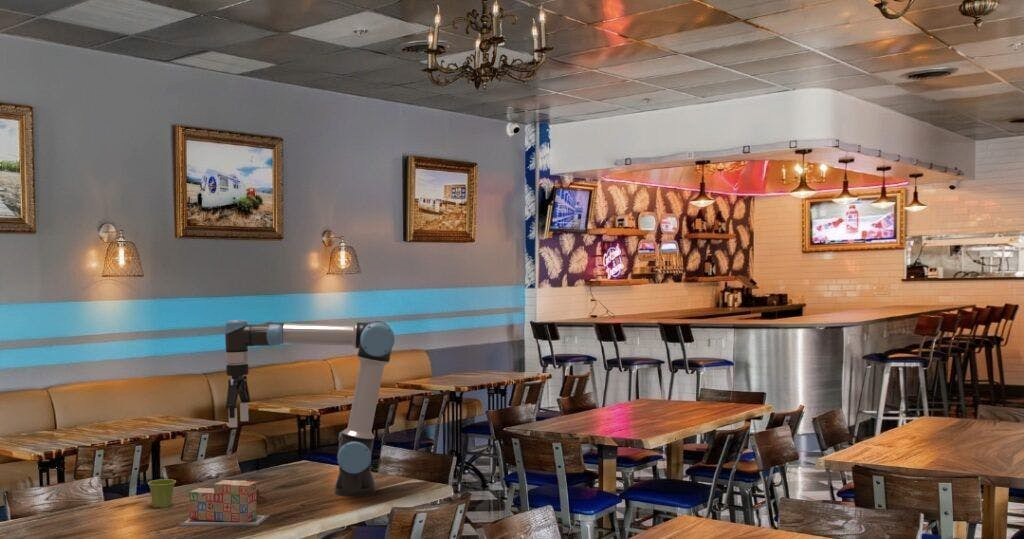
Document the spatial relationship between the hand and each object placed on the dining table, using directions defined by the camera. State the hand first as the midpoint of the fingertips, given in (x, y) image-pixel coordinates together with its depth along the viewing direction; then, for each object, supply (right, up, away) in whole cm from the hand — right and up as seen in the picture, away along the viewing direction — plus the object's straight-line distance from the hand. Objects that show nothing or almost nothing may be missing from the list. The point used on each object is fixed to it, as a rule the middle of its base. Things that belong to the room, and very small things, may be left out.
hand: (238, 424), depth 343 cm
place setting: (0, -30, +10) cm, 32 cm away
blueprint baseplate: (+1, -29, -21) cm, 36 cm away
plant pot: (-28, -30, +3) cm, 41 cm away
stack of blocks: (+1, -28, -21) cm, 35 cm away
